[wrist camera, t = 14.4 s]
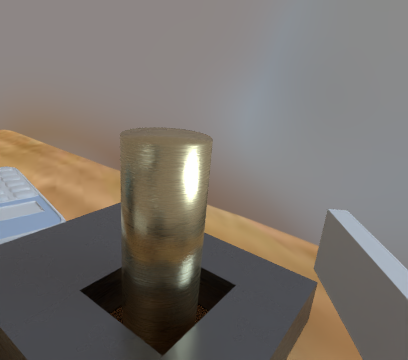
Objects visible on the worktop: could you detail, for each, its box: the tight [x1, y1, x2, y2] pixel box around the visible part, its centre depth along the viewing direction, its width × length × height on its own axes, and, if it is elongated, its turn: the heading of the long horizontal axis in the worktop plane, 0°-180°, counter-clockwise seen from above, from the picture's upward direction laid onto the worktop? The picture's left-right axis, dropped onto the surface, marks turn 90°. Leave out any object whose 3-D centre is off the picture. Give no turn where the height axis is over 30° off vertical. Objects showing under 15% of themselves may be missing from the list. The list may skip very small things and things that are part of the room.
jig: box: [0, 203, 317, 360], centre depth 19 cm, size 18×14×3 cm
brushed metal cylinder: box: [120, 127, 213, 356], centre depth 17 cm, size 4×4×12 cm
